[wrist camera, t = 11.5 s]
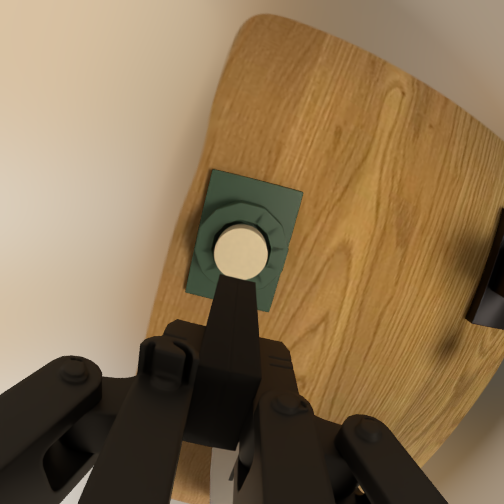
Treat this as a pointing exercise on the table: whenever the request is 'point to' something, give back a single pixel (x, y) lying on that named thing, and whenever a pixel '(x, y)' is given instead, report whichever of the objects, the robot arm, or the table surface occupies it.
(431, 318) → the table surface
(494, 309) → the switch bracket
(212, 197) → the control block
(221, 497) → the alarm clock
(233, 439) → the robot arm
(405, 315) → the table surface
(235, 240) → the button
